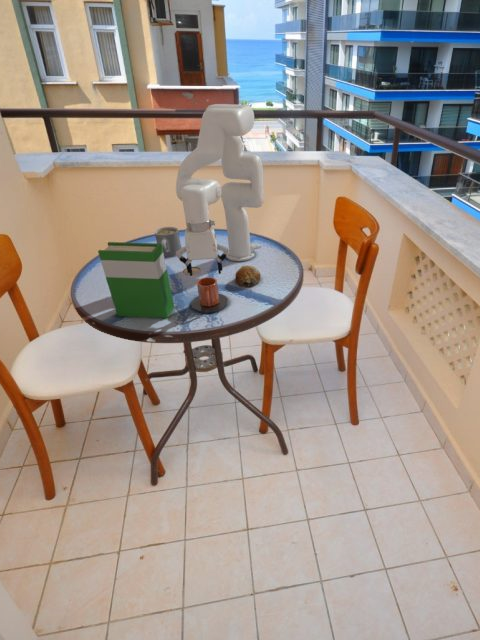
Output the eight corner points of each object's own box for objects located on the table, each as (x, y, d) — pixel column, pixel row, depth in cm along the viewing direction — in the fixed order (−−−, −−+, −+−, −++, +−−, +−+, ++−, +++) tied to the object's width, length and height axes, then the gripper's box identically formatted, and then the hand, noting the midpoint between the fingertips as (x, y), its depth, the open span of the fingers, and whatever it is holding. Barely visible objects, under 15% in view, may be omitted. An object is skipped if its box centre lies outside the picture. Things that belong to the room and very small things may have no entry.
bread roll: (263, 287, 167) (265, 267, 166) (253, 288, 158) (255, 267, 156) (241, 283, 170) (243, 264, 168) (229, 284, 160) (232, 263, 159)
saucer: (220, 291, 157) (220, 289, 157) (233, 307, 148) (233, 305, 147) (187, 300, 152) (186, 298, 151) (198, 317, 142) (198, 315, 142)
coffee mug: (165, 246, 191) (161, 226, 186) (185, 248, 190) (181, 227, 184) (151, 258, 181) (146, 237, 175) (172, 260, 179) (168, 239, 173)
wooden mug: (200, 297, 151) (197, 278, 147) (219, 295, 152) (216, 276, 148) (199, 311, 143) (196, 291, 139) (219, 309, 144) (216, 289, 140)
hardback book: (117, 315, 143) (97, 251, 129) (126, 304, 149) (108, 242, 135) (167, 318, 142) (153, 253, 128) (174, 306, 148) (161, 243, 134)
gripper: (225, 219, 137) (230, 266, 147) (171, 223, 135) (180, 270, 144) (226, 228, 131) (231, 276, 141) (169, 231, 129) (179, 280, 138)
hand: (205, 273), depth 143 cm, fingers open, 9 cm apart
